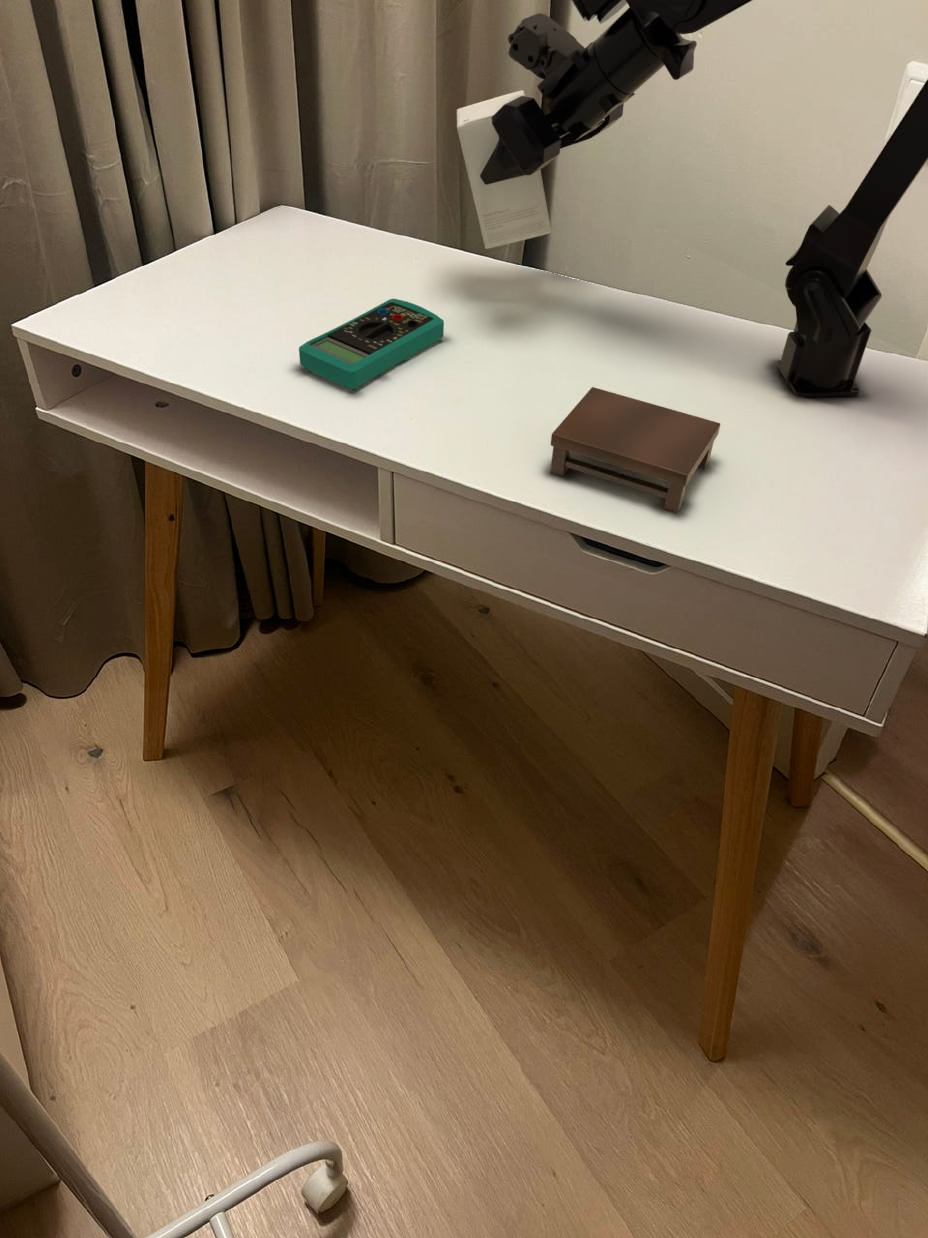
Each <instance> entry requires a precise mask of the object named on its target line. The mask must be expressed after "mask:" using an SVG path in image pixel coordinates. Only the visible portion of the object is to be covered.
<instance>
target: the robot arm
mask: <svg viewBox="0 0 928 1238" xmlns="http://www.w3.org/2000/svg"><path fill="white" fill-rule="evenodd" d="M570 1H571V2H572V4H573V5H574V7H575V9H576V11H577V12H578V14H579V15H580V16H581V18H582V20H583V21H587V22H590V21H592V20H593V19H594V18H595V17H596V20H597V21H598V23H599V24H600V25H601V24H603V23H605V22H607V21H608V20H610V19H611V18H612V17H614V16H615V15H616V14H617V13H618V12H619V11H620V10H622V9H623V8H624V7H625V6H626V5H628V8H627V9H626V10H625V11H624V12H623V13H622V14H621V15H619V16H618V18H616V19H615V21H613V23H612V24H611V25H609V26H608V27H607V28H606V30H604V31H603V32H602V33H601V34H600V35H599V36H598V37H597V38H596V39H595V40H594V41H592V42H590V43H589V44H588V45H587V46H586V47H584V46H583V44H581V43H580V42H579V41H578V40H577V39H576V37H575V36H574V35H573V34H571V33H570V32H569V31H567V30H566V28H564V27H563V26H561V25H560V24H559V23H557V22H556V21H555V20H553V19H552V18H551V17H550V16H548V15H547V14H545V13H541V12H540V13H539V12H538V13H536V14H532V15H530V16H528V17H525V18H522V20H521V21H520V23H519V24H518V25H517V26H516V29H515V30H514V32H512V33H510V34H509V35H508V37H507V41H508V44H509V45H510V46H509V48H508V51H507V54H508V57H510V59H512V61H514V62H515V63H518V64H519V65H520V66H522V68H524V69H525V70H527V71H530V72H531V73H532V74H533V75H535V76H536V77H538V78H540V79H542V80H541V81H540V83H538V84H537V86H536V87H537V89H538V90H539V92H540V94H541V95H542V97H543V98H547V101H546V104H547V107H548V110H549V113H547V114H545V113H544V111H543V110H542V108H541V107H540V105H539V103H538V102H537V100H536V99H535V97H530V96H526V95H525V96H520V97H518V98H516V99H514V100H512V101H510V102H508V103H506V104H504V105H503V106H502V107H501V108H500V109H499V110H498V111H497V112H496V113H495V114H494V115H493V116H492V125H493V126H494V128H495V131H496V132H497V134H498V136H499V140H498V143H497V145H496V147H495V149H494V151H493V153H492V155H491V156H490V158H489V160H488V162H487V164H486V165H485V167H484V169H483V171H482V173H481V174H480V178H481V179H482V181H483V182H484V184H486V185H488V184H492V183H496V182H500V181H503V180H507V179H511V178H516V177H520V176H525V175H527V176H529V175H532V174H533V173H535V172H537V171H538V170H541V169H543V168H545V167H546V166H547V165H549V164H550V163H551V162H552V161H554V160H555V159H556V158H557V157H558V156H559V155H560V154H561V149H564V148H567V147H570V146H574V145H576V144H579V143H581V142H584V141H587V140H590V139H592V138H594V137H595V136H597V135H598V134H601V133H603V131H606V130H607V129H608V128H610V127H611V126H612V125H614V124H615V123H616V122H617V121H619V120H620V118H622V117H623V113H624V105H625V103H627V102H628V101H629V100H630V99H632V98H633V97H634V96H635V95H636V94H635V92H636V91H637V90H638V89H640V88H641V87H642V86H643V85H644V84H645V83H646V82H648V81H649V80H650V79H651V78H652V77H653V76H654V75H656V73H657V72H659V71H660V70H661V69H662V68H663V67H665V68H666V70H667V72H668V74H669V75H670V77H671V78H672V79H673V80H674V81H677V80H680V79H681V78H683V77H684V76H687V75H688V74H690V73H691V72H692V71H693V70H694V66H695V65H694V64H695V63H694V62H695V51H696V47H697V45H698V43H697V41H696V40H689V39H686V38H684V37H683V36H682V35H689V34H693V33H695V32H698V31H700V30H702V29H704V28H706V27H707V26H709V25H712V24H713V23H715V22H717V21H719V20H721V19H722V18H724V17H726V16H728V15H729V14H732V13H733V12H736V11H737V10H738V9H740V8H742V7H744V6H746V5H747V4H749V3H751V2H752V1H754V0H570ZM927 162H928V78H927V80H926V81H925V83H923V85H922V87H921V89H920V90H919V92H918V93H917V95H916V96H915V98H914V99H913V101H912V102H911V104H910V106H909V108H908V110H907V111H906V112H905V114H904V115H903V117H902V118H901V120H900V121H899V123H898V125H897V126H896V128H895V129H894V131H893V132H892V133H891V136H890V137H889V139H888V141H887V142H886V144H885V145H884V147H883V148H882V150H881V151H880V153H879V154H878V156H877V157H876V159H875V161H874V162H873V164H872V165H871V166H870V168H869V170H868V171H867V173H866V175H865V176H864V177H863V179H862V181H861V182H860V184H859V186H858V187H857V189H856V190H855V192H854V193H853V195H852V196H851V198H850V199H849V200H848V203H847V204H846V206H845V207H844V208H843V209H842V210H841V212H840V213H839V211H838V210H836V209H835V208H834V207H833V206H832V205H831V204H828V205H827V206H826V207H825V208H824V209H823V210H822V211H821V212H820V213H819V215H818V216H817V217H816V218H815V219H814V220H813V221H812V222H811V224H809V226H808V228H807V230H806V232H805V234H804V237H803V239H802V242H801V244H800V246H799V247H798V248H797V249H796V250H795V252H794V253H793V254H792V255H791V256H790V257H789V258H788V260H787V261H786V262H785V266H787V267H791V268H790V269H789V270H788V272H787V275H786V277H785V283H784V288H785V290H786V295H787V298H788V299H789V301H790V302H791V304H792V306H794V307H795V318H796V321H795V325H794V328H793V331H789V332H788V334H787V336H786V337H787V338H786V340H785V344H784V347H783V351H782V354H781V359H779V360H777V362H776V368H777V369H778V370H779V372H780V373H781V375H782V377H783V378H784V380H785V381H786V383H787V385H788V386H789V388H790V389H791V391H792V392H793V394H794V395H795V397H796V396H797V397H799V398H814V397H815V398H816V397H821V398H822V397H857V396H859V395H860V393H861V389H860V387H859V386H858V384H857V383H856V382H855V381H856V377H857V375H858V372H859V368H860V367H861V363H862V360H863V357H864V354H865V350H866V348H867V345H868V342H869V338H870V336H871V333H872V328H871V327H870V326H869V325H868V324H867V320H868V319H869V317H870V315H871V314H872V312H873V311H874V309H875V308H876V306H877V305H878V303H879V302H880V300H881V299H882V297H883V295H882V292H881V290H880V289H879V287H878V286H877V284H876V282H875V280H874V279H873V277H872V276H871V274H870V272H869V270H868V267H869V264H870V262H871V260H872V258H873V256H874V254H875V253H876V249H877V247H878V245H879V242H880V240H881V238H882V235H883V232H884V231H885V227H886V225H887V223H888V220H889V218H890V216H891V214H892V213H893V212H894V210H895V209H896V207H897V206H898V204H899V203H900V201H901V200H902V198H903V197H904V196H905V194H906V193H907V192H908V190H909V189H910V187H911V185H912V184H913V182H914V181H915V180H916V178H917V177H918V175H919V173H921V171H922V169H923V168H924V166H925V165H926V163H927Z"/></svg>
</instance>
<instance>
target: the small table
mask: <svg viewBox="0 0 928 1238" xmlns="http://www.w3.org/2000/svg"><path fill="white" fill-rule="evenodd" d="M720 428H721V423H720V422H717V421H714V420H710V419H707V418H704V417H700V416H696V415H693V414H689V413H686V412H682V411H679V410H675V409H671V408H668V407H665V406H661V405H658V404H654V403H651V402H647V401H644V400H641V399H636V398H633V397H630V396H625V395H624V394H623V395H622V394H618V393H615V392H612V391H608V390H605V389H601V388H597V387H595V386H592V387H591V388H590V389H589V390H588V391H587V392H586V393H585V395H584V396H583V397H582V398H581V399H580V401H579V402H578V403H577V404H576V405H575V406H574V408H573V409H571V411H570V412H569V413H568V415H567V416H566V417H565V418H564V419H563V420H562V421H561V423H560V424H559V425H558V426H557V427H556V428H555V429H554V430H553V432H551V436H550V446H551V447H552V456H551V464H550V473H551V474H553V475H554V474H555V475H558V476H560V477H564V476H565V474H566V473H567V472H568V471H569V469H571V470H574V471H578V472H581V473H584V474H588V475H589V476H590V475H591V476H593V477H597V478H600V479H603V480H606V481H608V482H609V481H610V482H613V483H615V484H619V485H621V486H626V487H628V488H632V489H635V490H638V491H642V492H645V493H648V494H650V495H654V496H657V497H660V498H664V499H665V502H664V507H663V509H664V510H667V511H670V512H674V513H678V512H679V511H680V509H681V508H682V506H683V504H684V503H683V502H684V499H685V493H686V489H687V485H688V483H689V482H690V480H691V478H692V476H693V475H694V473H695V472H696V470H697V469H698V468H701V469H703V470H704V469H706V468H707V466H708V464H709V463H710V459H711V454H712V451H713V447H714V443H715V441H716V439H717V437H718V435H719V432H720ZM571 453H574V454H577V455H580V456H583V457H587V458H589V459H593V460H596V461H599V462H603V463H606V464H608V465H609V464H610V465H612V466H616V467H620V468H622V469H625V470H629V471H632V472H635V473H638V474H642V475H645V476H648V477H652V478H654V479H658V480H661V481H665V482H667V483H668V487H667V486H664V485H661V484H658V483H655V482H651V481H648V480H644V479H642V478H640V477H639V478H638V477H636V476H633V475H629V474H626V473H623V472H619V471H617V470H613V469H610V468H607V467H603V466H600V465H597V464H593V463H590V462H587V461H584V460H582V459H581V460H580V459H578V458H574V457H571Z"/></svg>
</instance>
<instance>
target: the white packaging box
mask: <svg viewBox="0 0 928 1238" xmlns="http://www.w3.org/2000/svg"><path fill="white" fill-rule="evenodd" d="M520 96H526V94H525V91H524V90H523V89H522V90H517V91H514V92H511V93H507V94H503V95H499V96H496V97H493V98H490V99H486V100H482V101H480V102H476V103H473V104H469V105H466V106H463V107H459V108H457V109H456V130H457V134H458V137H459V142H460V143H459V144H460V147H461V152H462V155H463V160H464V163H465V168H466V172H467V176H468V177H467V178H468V181H469V185H470V189H471V194H472V197H473V202H474V206H475V210H476V214H477V218H478V223H479V227H480V228H479V229H480V232H481V236H482V240H483V245H484V249H486V250H488V249H493V248H498V247H502V246H505V245H509V244H513V243H517V242H522V241H525V240H530V239H534V238H538V237H542V236H545V235H548V234H550V233H551V232H552V227H551V222H550V216H549V211H548V205H547V204H548V203H547V199H546V194H545V188H544V182H543V176H542V171H541V169H540V170H538V171H537V172H535V173H533V174H532V175H529V176H527V175H525V176H520V177H516V178H511V179H507V180H503V181H500V182H496V183H492V184H488V185H486V184H484V182H483V181H482V179H481V178H480V174H481V173H482V171H483V169H484V167H485V165H486V164H487V162H488V160H489V158H490V156H491V155H492V153H493V151H494V149H495V147H496V145H497V143H498V140H499V136H498V134H497V132H496V131H495V128H494V126H493V125H492V116H493V115H494V114H495V113H496V112H497V111H498V110H499V109H500V108H501V107H502V106H503V105H504V104H506V103H508V102H510V101H512V100H514V99H516V98H518V97H520Z"/></svg>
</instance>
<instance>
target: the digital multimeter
mask: <svg viewBox="0 0 928 1238" xmlns="http://www.w3.org/2000/svg"><path fill="white" fill-rule="evenodd" d="M444 326H445V321H444V319H443V318H441V317H440V316H438V314H435V313H434V312H432V311H430V310H428V309H426V308H425V307H423V306H420V305H418V304H415V303H413V302H410V301H406V300H402V299H397V298H390V299H387V300H386V301H384V302H383V303H380V304H378V305H377V306H374V307H373V308H371V309H370V310H367V311H366V312H364V313H362V314H360V315H358V316H357V317H354V318H352V319H351V320H348V321H346V322H344V323H343V324H341V325H339V326H336V327H335V328H333V329H331V330H329V331H327V332H325V333H322V334H320V335H318V336H317V337H314V338H312V339H310V340H308V341H306V342H305V343H303V344H301V345H300V346H298V355H299V365H300V366H301V367H303V368H305V369H307V370H308V371H310V372H312V373H314V374H316V375H318V376H320V377H321V378H324V379H326V380H327V381H331V382H333V383H335V384H337V385H339V386H343V387H345V388H347V389H350V390H355V389H357V388H358V387H360V386H362V385H364V384H365V383H367V382H368V381H371V380H372V379H374V378H376V377H378V376H379V375H381V374H382V373H384V372H386V371H388V370H389V369H391V368H393V367H394V366H397V365H398V364H400V363H402V362H403V361H405V360H407V359H409V358H410V357H412V356H414V355H416V354H417V353H419V352H421V351H422V350H425V349H426V348H428V347H430V346H431V345H433V344H435V343H436V342H439V341H440V340H441V339H443V338H444V331H445V327H444Z"/></svg>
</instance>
